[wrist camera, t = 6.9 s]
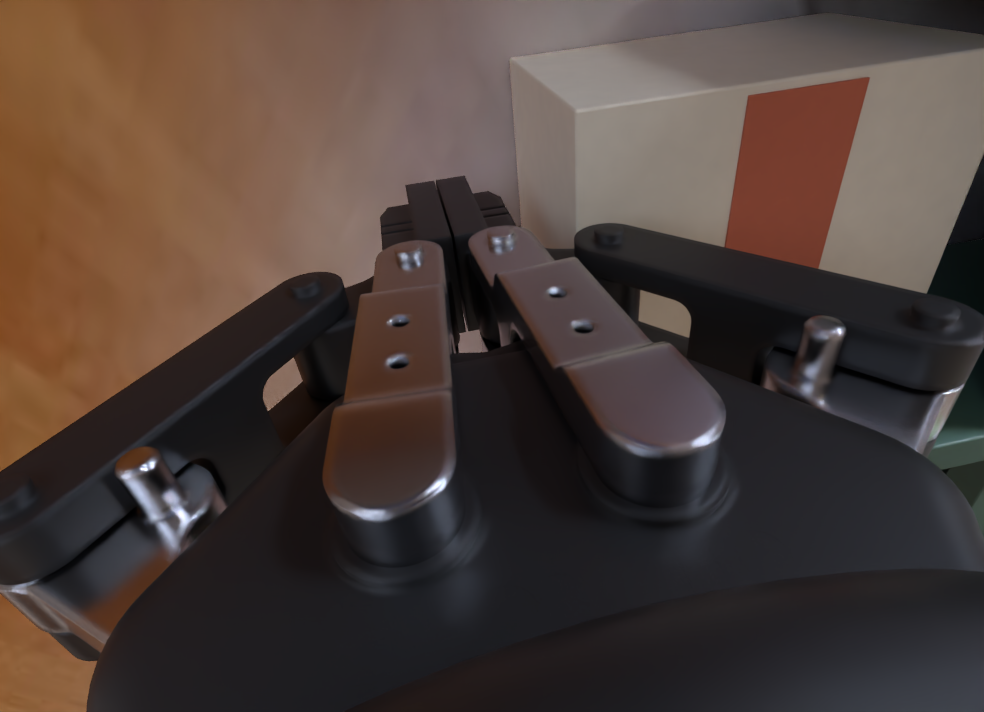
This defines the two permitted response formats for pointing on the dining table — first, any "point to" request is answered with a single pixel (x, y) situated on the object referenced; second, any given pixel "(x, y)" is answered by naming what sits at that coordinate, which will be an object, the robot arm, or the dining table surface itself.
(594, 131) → the carton
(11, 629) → the dining table surface
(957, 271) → the cabinet
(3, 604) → the dining table surface
